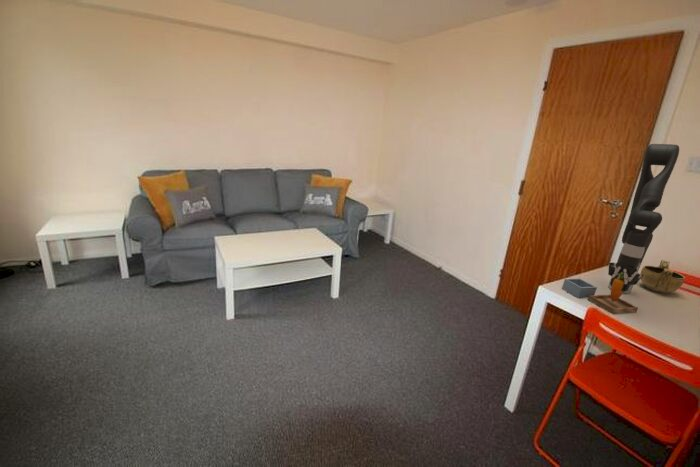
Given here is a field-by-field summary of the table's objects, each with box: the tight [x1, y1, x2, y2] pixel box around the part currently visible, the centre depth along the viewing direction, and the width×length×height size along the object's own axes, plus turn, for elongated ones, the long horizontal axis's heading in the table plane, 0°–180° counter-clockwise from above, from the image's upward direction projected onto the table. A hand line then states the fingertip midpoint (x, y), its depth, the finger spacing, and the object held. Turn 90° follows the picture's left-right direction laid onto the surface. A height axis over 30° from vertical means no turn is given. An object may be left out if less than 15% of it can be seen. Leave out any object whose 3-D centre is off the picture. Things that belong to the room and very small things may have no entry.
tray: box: [587, 294, 639, 315], centre depth 156 cm, size 14×12×2 cm
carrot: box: [610, 272, 629, 301], centre depth 153 cm, size 5×5×15 cm
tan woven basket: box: [640, 259, 686, 294], centre depth 178 cm, size 22×17×15 cm
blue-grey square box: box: [561, 278, 598, 299], centre depth 166 cm, size 10×10×6 cm
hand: (617, 288), depth 154 cm, fingers closed on carrot, 4 cm apart
